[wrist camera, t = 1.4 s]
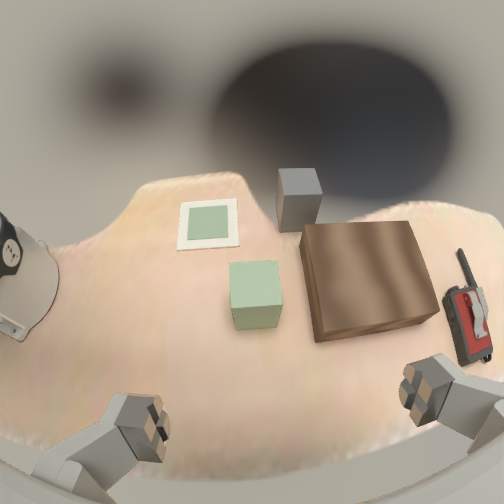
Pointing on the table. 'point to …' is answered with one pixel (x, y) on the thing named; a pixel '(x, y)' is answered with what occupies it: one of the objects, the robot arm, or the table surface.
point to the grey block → (297, 198)
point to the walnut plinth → (365, 278)
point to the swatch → (208, 225)
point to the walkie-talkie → (468, 319)
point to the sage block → (255, 294)
